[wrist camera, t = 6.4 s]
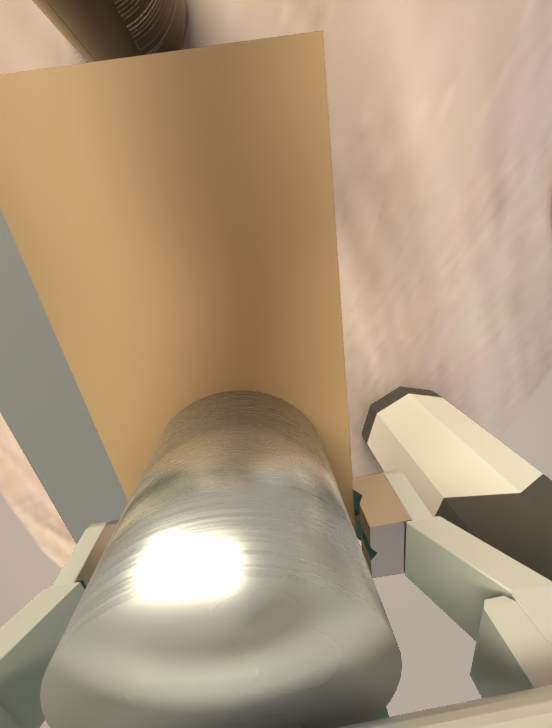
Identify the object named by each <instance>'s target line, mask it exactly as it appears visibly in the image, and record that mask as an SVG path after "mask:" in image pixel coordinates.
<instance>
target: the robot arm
mask: <svg viewBox="0 0 552 728" xmlns="http://www.w3.org/2000/svg"><path fill="white" fill-rule="evenodd" d="M352 480H353V486H352V494H353V506H354V511H355V517H354V524H355V534H356V536H357V538H358V539H359V540H361V542H362V552H363V555H364V557H365V560H366V562H367V565H368V568H369V570H370V573H371V576H372V578H376V577H383V576H389V575H396V574H402V573H405V576H407V577H408V578H409V579H410V580H411V581H412V582H413V583H414V584H415V585H416V586H417V587H418V588H419V589H420V590H422V591H423V592H424V593H425V594H426V595H427V596H428V597H429V598H430V599H431V600H432V601H433V602H434V603H435V604H436V605H438V606H439V607H440V608H441V609H442V610H443V611H444V612H445V613H446V614H447V615H448V616H449V617H451V618H452V619H453V620H454V621H455V622H456V623H457V624H458V625H459V626H460V627H461V628H462V629H463V630H464V631H465V632H467V633H468V634H469V635H470V636H471V637H472V638H473V639H474V640H475V641H476V647H475V652H474V657H473V662H472V668H471V673H470V676H471V677H472V679H473V681H474V683H475V685H476V687H477V689H478V691H479V693H480V695H481V697H482V699H477V700H472V701H467V702H462V703H457V704H452V705H447V706H442V707H437V708H433V709H427V710H422V711H417V712H412V713H407V714H402V715H397V716H392V717H387V718H382V719H377V720H372V721H367V722H362V723H357V724H352V725H347V726H342V727H337V728H552V581H550V580H549V579H547V578H545V577H544V576H542V575H540V574H538V573H537V572H535V571H533V570H532V569H530V568H528V567H526V566H525V565H523V564H521V563H519V562H518V561H516V560H514V559H513V558H511V557H509V556H507V555H506V554H504V553H502V552H501V551H499V550H497V549H495V548H494V547H492V546H490V545H489V544H487V543H485V542H483V541H482V540H480V539H478V538H476V537H475V536H473V535H471V534H470V533H468V532H466V531H464V530H463V529H461V528H459V527H458V526H456V525H454V524H452V523H451V522H449V521H447V520H446V519H444V518H442V517H440V516H436V517H433V515H432V514H431V512H430V511H429V509H428V508H427V507H426V505H425V504H424V502H423V501H422V499H421V498H420V497H419V495H418V494H417V492H416V491H415V489H414V488H413V487H412V485H411V484H410V482H409V481H408V479H407V478H406V477H405V475H404V474H403V472H402V471H400V470H399V469H398V470H392V471H387V472H382V473H377V474H371V475H366V476H361V477H356V478H352ZM118 522H119V520H113V521H109V522H102V523H96V524H92V525H90V526H89V527H88V528H87V529H86V530H85V532H84V533H83V535H82V537H81V538H80V540H79V542H78V543H77V545H76V547H75V548H74V550H73V552H72V553H71V555H70V557H69V559H68V560H67V562H66V564H65V565H64V567H63V569H62V570H61V572H60V574H59V575H58V577H57V579H56V580H55V582H54V584H53V585H52V587H49V588H45V589H44V590H43V591H42V592H41V593H39V594H38V595H37V596H36V597H35V598H34V599H33V600H32V601H30V602H29V603H28V604H27V605H26V606H25V607H24V608H23V609H21V610H20V611H19V612H18V613H17V614H16V615H15V616H14V617H13V618H11V619H10V620H9V621H8V622H7V623H6V624H4V625H3V626H2V627H1V628H0V728H40V726H41V725H42V723H43V722H44V721H45V716H44V714H43V712H42V707H41V701H40V691H41V683H42V680H43V677H44V674H45V672H46V669H47V667H48V665H49V663H50V661H51V659H52V656H53V654H54V652H55V650H56V648H57V646H58V644H59V642H60V640H61V638H62V636H63V634H64V632H65V630H66V628H67V626H68V624H69V622H70V620H71V618H72V616H73V614H74V612H75V610H76V608H77V606H78V603H79V601H80V599H81V597H82V595H83V593H84V591H85V589H86V587H87V585H88V583H89V581H90V579H91V577H92V575H93V573H94V571H95V569H96V567H97V565H98V563H99V561H100V559H101V557H102V555H103V553H104V550H105V548H106V546H107V544H108V542H109V540H110V538H111V536H112V534H113V532H114V530H115V528H116V526H117V524H118Z"/></svg>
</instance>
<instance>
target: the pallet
mask: <svg viewBox="0 0 552 728" xmlns="http://www.w3.org/2000/svg"><path fill="white" fill-rule="evenodd" d="M0 208H1V211H2V213H3V215H4V218H5V220H6V222H7V225H8V227H9V229H10V231H11V234H12V236H13V238H14V241H15V243H16V245H17V248H18V250H19V252H20V254H21V257H22V259H23V261H24V264H25V266H26V268H27V270H28V273H29V275H30V277H31V280H32V282H33V284H34V287H35V289H36V291H37V293H38V296H39V298H40V300H41V303H42V305H43V307H44V310H45V312H46V314H47V316H48V319H49V321H50V323H51V326H52V328H53V330H54V332H55V335H56V337H57V339H58V342H59V344H60V346H61V349H62V351H63V353H64V355H65V358H66V360H67V362H68V365H69V367H70V369H71V371H72V374H73V376H74V378H75V381H76V383H77V385H78V388H79V390H80V392H81V394H82V397H83V399H84V401H85V404H86V406H87V408H88V411H89V413H90V415H91V417H92V420H93V422H94V424H95V427H96V429H97V431H98V433H99V436H100V438H101V440H102V443H103V445H104V447H105V450H106V452H107V454H108V456H109V459H110V461H111V463H112V466H113V468H114V470H115V473H116V475H117V477H118V479H119V482H120V484H121V486H122V489H123V491H124V493H125V495H126V498H127V500H128V502H129V500H130V498H131V495H132V493H133V491H134V489H135V487H136V485H137V483H138V481H139V479H140V477H141V475H142V473H143V471H144V469H145V467H146V465H147V463H148V461H149V459H150V457H151V455H152V453H153V451H154V449H155V447H156V445H157V442H158V440H159V438H160V436H161V434H162V433H163V431H164V429H165V428H166V426H167V425H168V423H169V422H170V421H171V420H172V419H173V417H174V416H176V415H177V414H178V413H179V412H180V411H181V410H182V409H184V408H185V407H187V406H188V405H190V404H191V403H193V402H195V401H197V400H199V399H201V398H204V397H206V396H209V395H212V394H216V393H220V392H225V391H234V390H249V391H257V392H262V393H266V394H270V395H273V396H276V397H278V398H281V399H283V400H285V401H287V402H288V403H290V404H292V405H293V406H295V407H296V408H297V409H299V410H300V411H301V412H302V413H303V414H304V415H305V416H306V417H307V418H308V419H309V421H310V422H311V423H312V424H313V426H314V428H315V430H316V432H317V433H318V436H319V439H320V441H321V444H322V447H323V449H324V452H325V455H326V457H327V460H328V462H329V465H330V468H331V470H332V473H333V476H334V478H335V481H336V483H337V486H338V489H339V491H340V494H341V497H342V499H343V502H344V505H345V507H346V510H347V512H348V515H349V518H350V520H351V523H352V526H353V528H354V531H355V524H354V517H355V511H354V506H353V494H352V486H353V480H352V465H351V450H350V435H349V419H348V404H347V389H346V374H345V358H344V343H343V328H342V313H341V297H340V282H339V267H338V252H337V236H336V221H335V206H334V191H333V175H332V160H331V145H330V130H329V114H328V99H327V84H326V68H325V53H324V38H323V31H316V32H308V33H301V34H294V35H286V36H279V37H272V38H264V39H257V40H250V41H243V42H235V43H228V44H221V45H213V46H206V47H199V48H191V49H184V50H177V51H170V52H162V53H155V54H148V55H140V56H133V57H126V58H118V59H111V60H104V61H96V62H89V63H82V64H75V65H67V66H60V67H53V68H45V69H38V70H31V71H23V72H16V73H9V74H1V75H0Z"/></svg>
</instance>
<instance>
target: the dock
mask: <svg viewBox="0 0 552 728" xmlns="http://www.w3.org/2000/svg"><path fill="white" fill-rule="evenodd" d="M0 412H1V414H2V416H3V418H4V419H5V421H6V423H7V425H8V426H9V428H10V430H11V432H12V433H13V435H14V437H15V438H16V440H17V442H18V444H19V445H20V447H21V449H22V451H23V452H24V454H25V456H26V457H27V459H28V461H29V463H30V464H31V466H32V468H33V470H34V471H35V473H36V475H37V477H38V478H39V480H40V482H41V483H42V485H43V487H44V489H45V490H46V492H47V494H48V496H49V497H50V499H51V501H52V503H53V504H54V506H55V508H56V509H57V511H58V513H59V515H60V516H61V518H62V520H63V522H64V523H65V525H66V527H67V529H68V530H69V532H70V534H71V535H72V537H73V539H74V541H75V542H76V544H77V543H78V542H79V540H80V538H81V537H82V535H83V533H84V532H85V530H86V529H87V528H88V527H89V526H90V525H92V524H96V523H102V522H109V521H113V520H120V518H121V516H122V514H123V512H124V510H125V508H126V506H127V504H128V500H127V498H126V495H125V493H124V491H123V489H122V486H121V484H120V482H119V479H118V477H117V475H116V473H115V470H114V468H113V466H112V463H111V461H110V459H109V456H108V454H107V452H106V450H105V447H104V445H103V443H102V440H101V438H100V436H99V433H98V431H97V429H96V427H95V424H94V422H93V420H92V417H91V415H90V413H89V411H88V408H87V406H86V404H85V401H84V399H83V397H82V394H81V392H80V390H79V388H78V385H77V383H76V381H75V378H74V376H73V374H72V371H71V369H70V367H69V365H68V362H67V360H66V358H65V355H64V353H63V351H62V349H61V346H60V344H59V342H58V339H57V337H56V335H55V332H54V330H53V328H52V326H51V323H50V321H49V319H48V316H47V314H46V312H45V310H44V307H43V305H42V303H41V300H40V298H39V296H38V293H37V291H36V289H35V287H34V284H33V282H32V280H31V277H30V275H29V273H28V270H27V268H26V266H25V264H24V261H23V259H22V257H21V254H20V252H19V250H18V248H17V245H16V243H15V241H14V238H13V236H12V234H11V231H10V229H9V227H8V225H7V222H6V220H5V218H4V215H3V213H2V211H1V208H0Z"/></svg>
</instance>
